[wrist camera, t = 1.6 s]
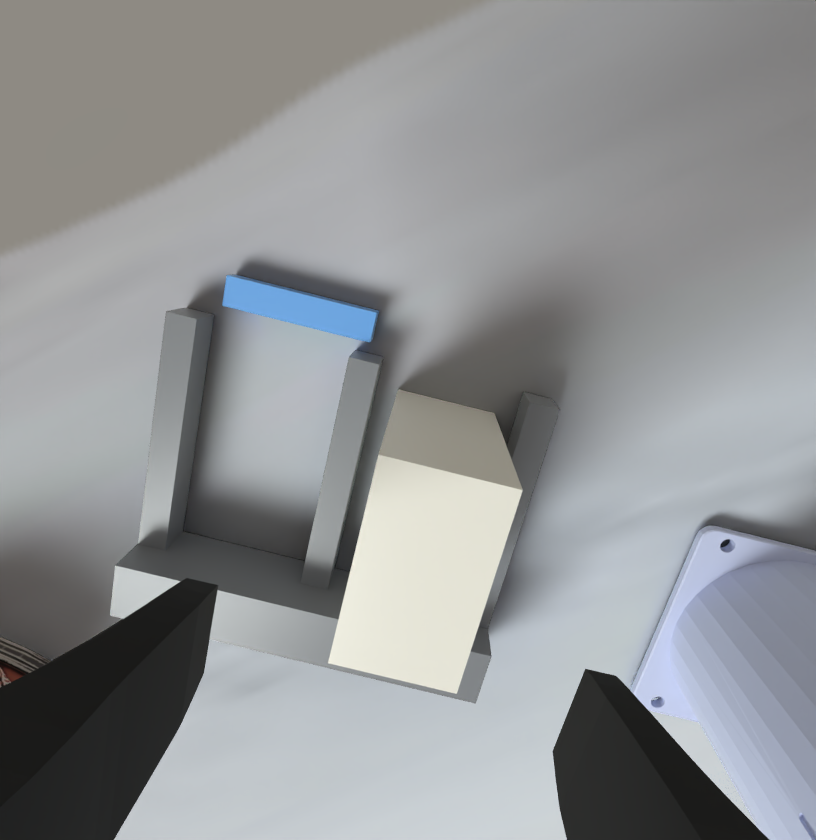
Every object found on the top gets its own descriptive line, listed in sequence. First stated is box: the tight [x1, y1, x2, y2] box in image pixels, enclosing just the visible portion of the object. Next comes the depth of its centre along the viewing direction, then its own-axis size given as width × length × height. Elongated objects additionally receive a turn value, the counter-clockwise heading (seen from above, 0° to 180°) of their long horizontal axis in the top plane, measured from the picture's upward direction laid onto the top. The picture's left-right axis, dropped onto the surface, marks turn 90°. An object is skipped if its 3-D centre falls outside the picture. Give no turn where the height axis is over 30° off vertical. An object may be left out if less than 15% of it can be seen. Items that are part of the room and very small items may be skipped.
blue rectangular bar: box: [222, 275, 379, 343], centre depth 19 cm, size 5×1×1 cm, turn 76°
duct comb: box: [110, 308, 560, 703], centre depth 20 cm, size 13×10×3 cm
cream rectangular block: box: [328, 389, 523, 694], centre depth 18 cm, size 4×6×7 cm, turn 166°
